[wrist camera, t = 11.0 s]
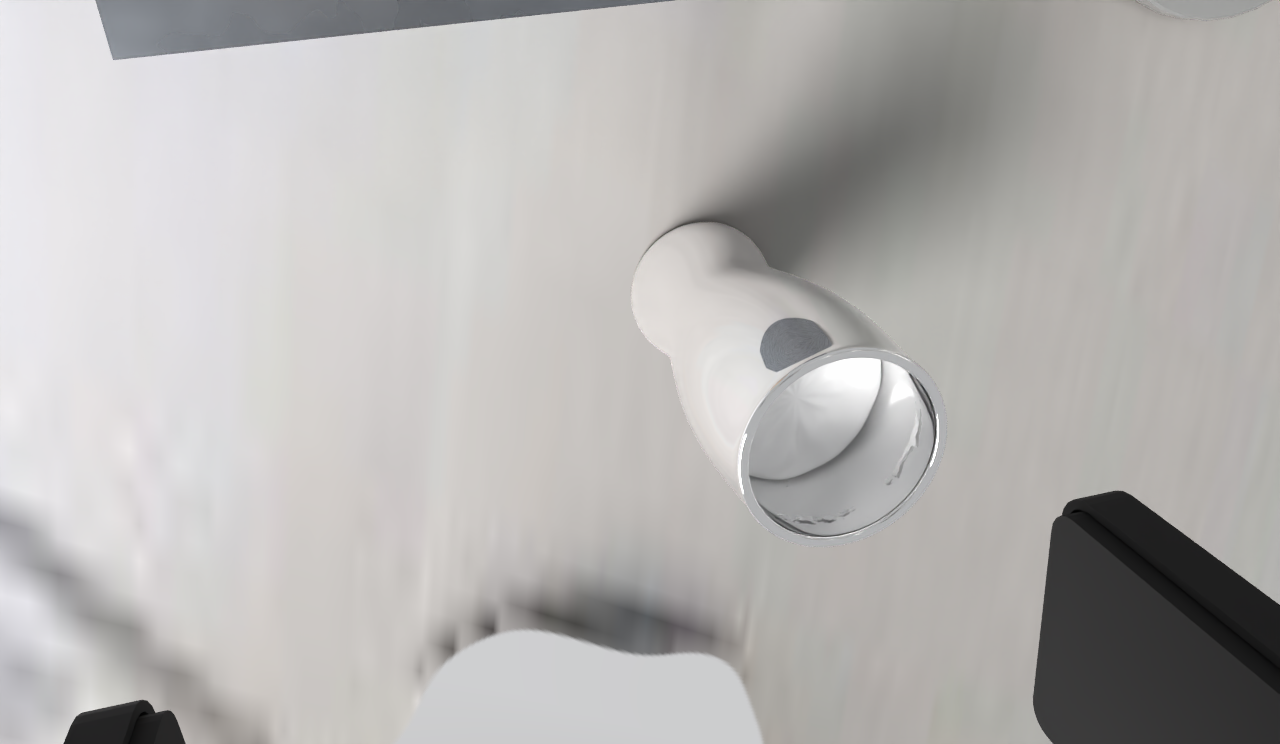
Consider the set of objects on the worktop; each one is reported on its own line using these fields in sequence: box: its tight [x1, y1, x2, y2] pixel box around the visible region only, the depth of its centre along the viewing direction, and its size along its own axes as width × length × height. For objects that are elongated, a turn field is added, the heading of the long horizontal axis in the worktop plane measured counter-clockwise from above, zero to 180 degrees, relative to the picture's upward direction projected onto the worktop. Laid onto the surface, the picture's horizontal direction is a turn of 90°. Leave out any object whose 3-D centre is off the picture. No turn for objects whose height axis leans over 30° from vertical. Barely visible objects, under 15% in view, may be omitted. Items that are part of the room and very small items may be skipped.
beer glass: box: [631, 222, 947, 547], centre depth 35 cm, size 7×7×15 cm
